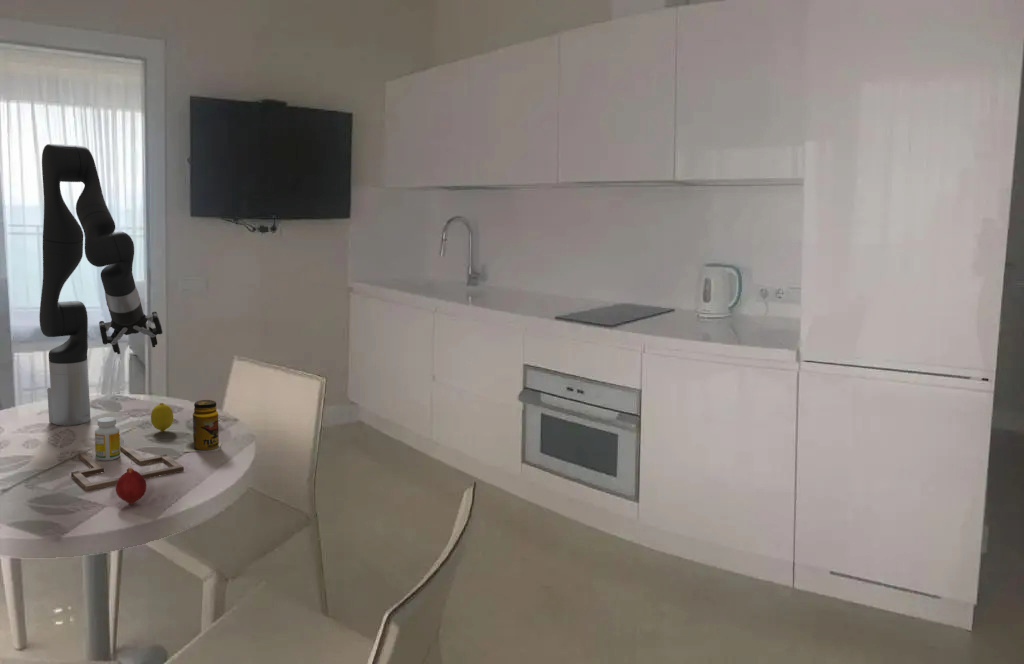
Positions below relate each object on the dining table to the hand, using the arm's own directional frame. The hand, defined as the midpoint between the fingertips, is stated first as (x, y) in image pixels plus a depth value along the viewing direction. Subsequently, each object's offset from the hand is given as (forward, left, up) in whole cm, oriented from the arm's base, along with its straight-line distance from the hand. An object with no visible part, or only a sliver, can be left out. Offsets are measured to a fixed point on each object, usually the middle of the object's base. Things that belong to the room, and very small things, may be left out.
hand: (136, 348), depth 213 cm
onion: (+30, -43, -23) cm, 57 cm away
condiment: (+23, -6, -23) cm, 33 cm away
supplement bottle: (+6, -20, -23) cm, 31 cm away
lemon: (+6, +2, -23) cm, 24 cm away
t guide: (+13, -25, -23) cm, 36 cm away
